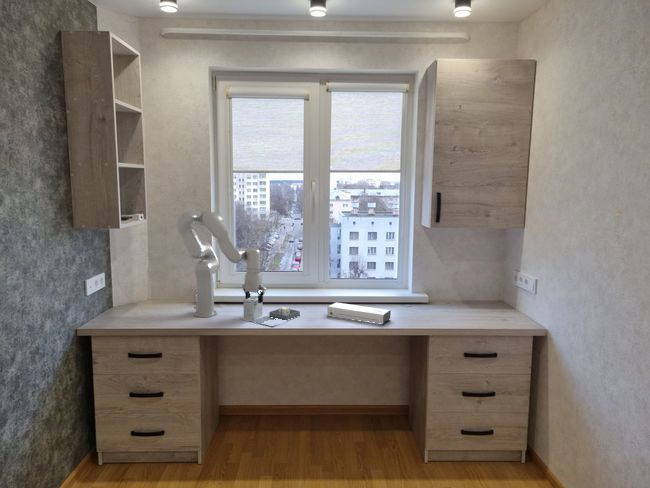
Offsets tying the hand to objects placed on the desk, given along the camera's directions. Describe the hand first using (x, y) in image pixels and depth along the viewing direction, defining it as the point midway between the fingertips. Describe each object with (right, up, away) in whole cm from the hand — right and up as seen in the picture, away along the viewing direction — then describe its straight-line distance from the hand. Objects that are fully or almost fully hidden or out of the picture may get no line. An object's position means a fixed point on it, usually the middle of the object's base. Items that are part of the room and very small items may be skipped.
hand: (254, 301), depth 245 cm
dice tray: (+16, -9, +5) cm, 20 cm away
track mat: (+6, -10, -3) cm, 12 cm away
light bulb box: (-1, -9, +1) cm, 9 cm away
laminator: (+58, -11, +4) cm, 59 cm away
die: (+16, -9, +5) cm, 19 cm away
